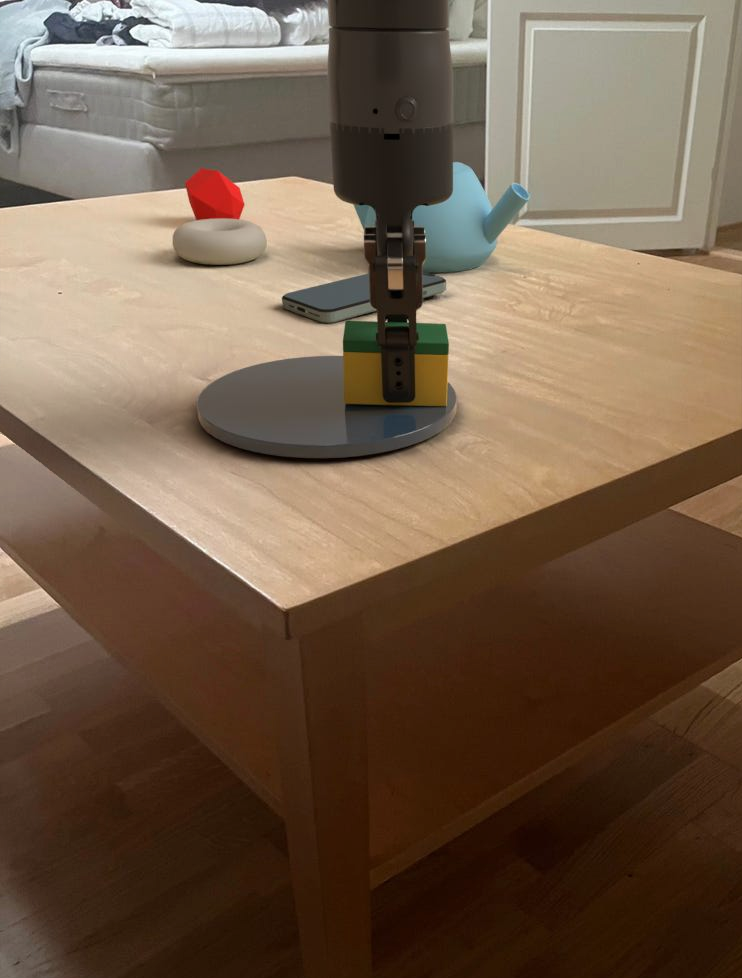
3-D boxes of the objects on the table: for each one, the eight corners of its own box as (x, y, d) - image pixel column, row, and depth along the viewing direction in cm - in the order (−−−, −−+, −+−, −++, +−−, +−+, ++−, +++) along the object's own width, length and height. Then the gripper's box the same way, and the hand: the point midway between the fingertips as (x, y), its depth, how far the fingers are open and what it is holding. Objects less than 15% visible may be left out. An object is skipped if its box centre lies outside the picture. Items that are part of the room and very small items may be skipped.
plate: (177, 464, 63) (174, 446, 62) (218, 370, 78) (216, 355, 77) (464, 461, 64) (464, 444, 63) (450, 370, 79) (450, 355, 78)
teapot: (394, 285, 101) (391, 162, 95) (340, 249, 114) (335, 140, 108) (530, 273, 106) (536, 156, 100) (464, 240, 119) (466, 135, 113)
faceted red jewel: (256, 179, 120) (217, 146, 123) (207, 196, 117) (169, 162, 119) (259, 230, 126) (221, 197, 128) (212, 248, 122) (175, 214, 125)
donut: (287, 256, 111) (219, 242, 115) (285, 223, 109) (216, 210, 113) (224, 274, 104) (154, 259, 108) (220, 239, 102) (149, 225, 106)
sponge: (344, 404, 68) (342, 340, 66) (346, 381, 72) (345, 320, 70) (446, 407, 69) (449, 343, 66) (443, 384, 73) (445, 323, 70)
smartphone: (275, 293, 92) (400, 263, 101) (278, 312, 93) (401, 280, 102) (325, 311, 88) (451, 278, 97) (327, 330, 89) (451, 295, 97)
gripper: (335, 102, 67) (348, 356, 76) (322, 128, 55) (340, 426, 64) (447, 104, 67) (447, 355, 76) (459, 130, 55) (458, 425, 65)
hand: (398, 386), depth 70 cm, fingers closed on sponge, 4 cm apart
